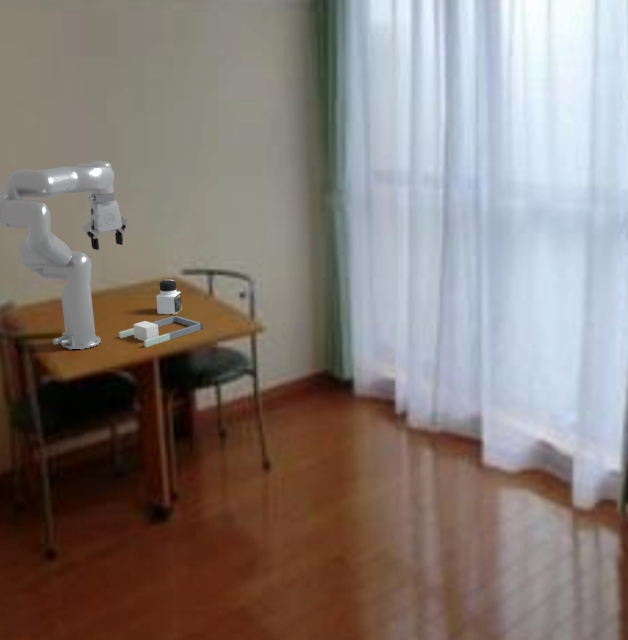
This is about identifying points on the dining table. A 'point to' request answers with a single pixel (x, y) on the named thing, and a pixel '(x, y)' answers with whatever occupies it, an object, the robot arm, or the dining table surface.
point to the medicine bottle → (168, 298)
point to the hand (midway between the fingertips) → (107, 246)
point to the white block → (145, 330)
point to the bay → (193, 328)
